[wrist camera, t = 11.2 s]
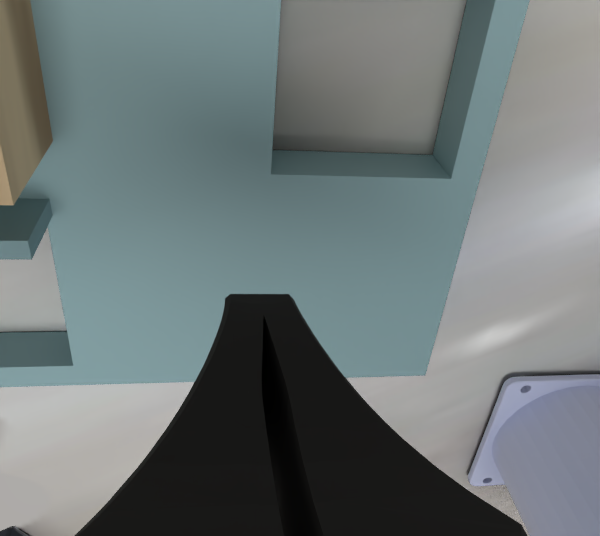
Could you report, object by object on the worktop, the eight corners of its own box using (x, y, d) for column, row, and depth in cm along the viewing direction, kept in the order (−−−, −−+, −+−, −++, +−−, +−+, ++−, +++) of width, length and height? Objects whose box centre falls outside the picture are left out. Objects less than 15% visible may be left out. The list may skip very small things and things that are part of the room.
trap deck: (514, -67, 17) (609, -49, 13) (412, 343, 26) (448, 431, 22) (-250, -137, 14) (-442, -142, 10) (-71, 352, 23) (-134, 456, 19)
